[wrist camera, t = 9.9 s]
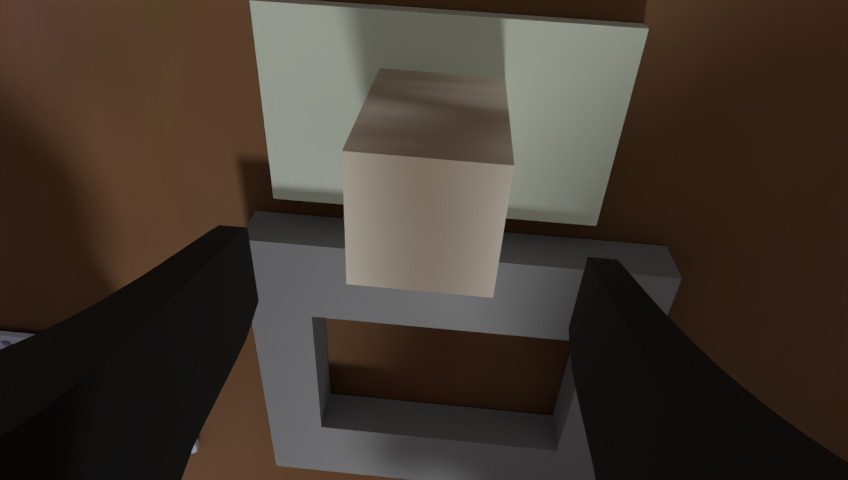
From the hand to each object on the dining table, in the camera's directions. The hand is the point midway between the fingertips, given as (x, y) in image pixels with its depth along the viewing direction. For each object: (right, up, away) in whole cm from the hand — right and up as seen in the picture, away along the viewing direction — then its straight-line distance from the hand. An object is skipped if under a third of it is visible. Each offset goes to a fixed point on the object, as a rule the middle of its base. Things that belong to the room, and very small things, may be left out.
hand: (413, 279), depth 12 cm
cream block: (+1, +4, +7) cm, 8 cm away
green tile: (+1, +5, +7) cm, 9 cm away
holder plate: (+1, -4, +14) cm, 15 cm away
